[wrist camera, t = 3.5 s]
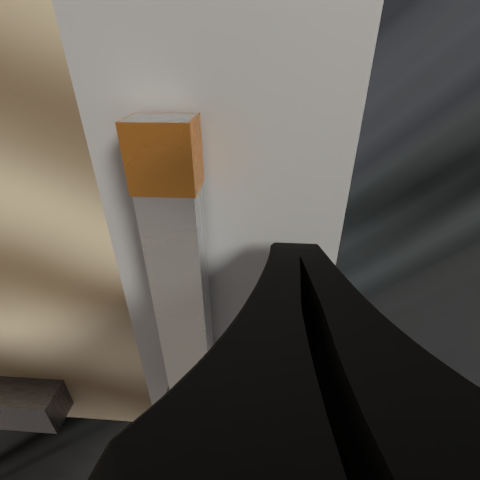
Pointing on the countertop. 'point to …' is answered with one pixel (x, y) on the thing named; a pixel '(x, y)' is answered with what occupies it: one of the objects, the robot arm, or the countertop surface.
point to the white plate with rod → (226, 126)
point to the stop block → (33, 404)
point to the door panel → (57, 233)
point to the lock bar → (171, 229)
